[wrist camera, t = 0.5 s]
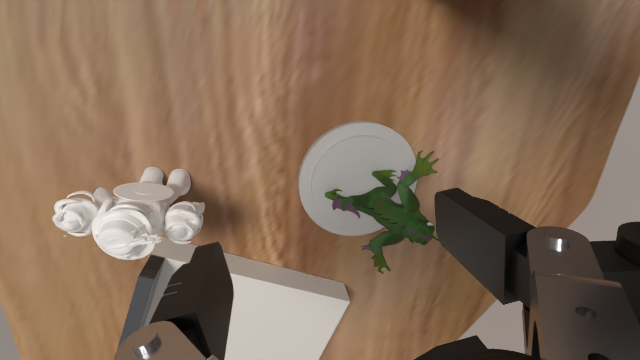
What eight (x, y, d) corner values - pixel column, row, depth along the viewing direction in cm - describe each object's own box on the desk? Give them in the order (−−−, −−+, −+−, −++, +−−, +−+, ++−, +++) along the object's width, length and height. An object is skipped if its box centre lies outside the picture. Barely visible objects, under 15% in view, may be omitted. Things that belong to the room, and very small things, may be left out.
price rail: (151, 254, 28) (138, 276, 25) (165, 257, 29) (154, 279, 26) (124, 344, 31) (110, 372, 29) (137, 346, 32) (124, 374, 29)
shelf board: (161, 236, 31) (151, 254, 28) (343, 283, 36) (349, 301, 34) (136, 321, 34) (124, 344, 31) (307, 352, 40) (310, 374, 37)
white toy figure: (219, 165, 29) (190, 233, 18) (216, 203, 31) (187, 288, 20) (111, 151, 27) (5, 217, 16) (112, 192, 29) (15, 279, 18)
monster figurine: (386, 241, 35) (429, 310, 26) (282, 218, 32) (289, 285, 23) (433, 141, 32) (503, 178, 22) (321, 103, 29) (347, 128, 19)
